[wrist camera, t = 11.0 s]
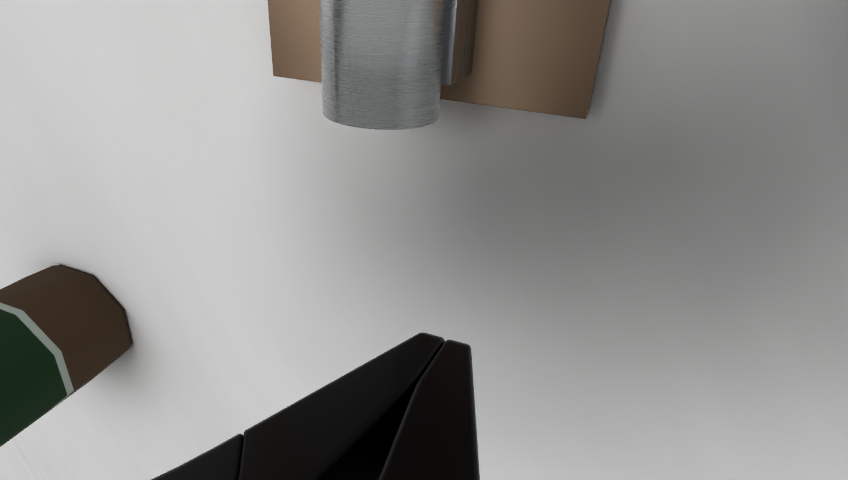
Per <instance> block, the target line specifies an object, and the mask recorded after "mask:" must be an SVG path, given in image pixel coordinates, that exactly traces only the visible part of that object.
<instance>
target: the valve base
mask: <svg viewBox="0 0 848 480" xmlns="http://www.w3.org/2000/svg"><path fill="white" fill-rule="evenodd" d="M610 4H611V0H268V10H269V23H270V36H271V49H272V62H273V75H274V76H278V77H285V78H293V79H300V80H307V81H314V82H322V98H323V114H324V116H325V117H326V118H328V119H329V120H331V121H334V122H336V123H340V124H343V125H348V126H353V127H359V128H367V129H384V130H395V129H410V128H417V127H422V126H426V125H430V124H432V123H434V122H436V121H437V120H438V118H439V107H440V99H445V100H452V101H460V102H467V103H474V104H481V105H489V106H496V107H503V108H510V109H518V110H525V111H532V112H540V113H547V114H554V115H561V116H569V117H576V118H583V119H586V117H587V114H588V111H589V108H590V103H591V98H592V93H593V88H594V83H595V78H596V73H597V68H598V63H599V59H600V54H601V49H602V44H603V39H604V34H605V29H606V24H607V19H608V14H609V9H610Z"/></svg>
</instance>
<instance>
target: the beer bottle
mask: <svg viewBox="0 0 848 480" xmlns="http://www.w3.org/2000/svg"><path fill="white" fill-rule="evenodd" d="M131 344H132V341H131V337H130V333H129V329H128V324H127V320H126V316H125V312H124V309H123V308H122V306H121V305H120V304H119V303H118V302H117V301H116V300H115V299H114V298H113V297H112V295H111V294H110V293H109V292H108V291H107V290H106V289H105V288H104V287H103V286H102V284H101V283H100V282H99V281H98V280H97V279H96V278H95V277H94V276H93V275H90V274H87V273H84V272H80V271H77V270H74V269H71V268H68V267H65V266H61V265H55V266H51V267H49V268H46V269H44V270H42V271H39V272H37V273H35V274H32V275H30V276H27V277H25V278H23V279H21V280H19V281H17V282H15V283H13V284H11V285H9V286H7V287H5V288H3V289H0V447H1V446H2V445H3V444H5V443H6V442H7V441H9V440H10V439H12V438H13V437H14V436H16V435H17V434H18V433H20V432H21V431H22V430H24V429H25V428H27V427H28V426H29V425H31V424H32V423H33V422H35V421H36V420H37V419H39V418H40V417H42V416H43V415H44V414H46V413H47V412H48V411H50V410H51V409H52V408H54V407H55V406H57V405H58V404H59V403H61V402H62V401H63V400H65V399H66V398H67V397H69V396H70V395H72V394H73V393H74V392H76V391H77V390H78V389H80V388H81V387H82V386H84V385H85V384H86V383H88V382H89V381H90V380H92V379H93V378H94V377H95V376H97V375H98V374H99V373H100V372H102V371H103V370H104V369H105V368H106V367H108V366H109V365H110V364H111V363H113V362H114V361H115V360H116V359H117V358H118V357H120V356H121V355H122V354H123V353H124V352H125V351H127V350H128V349H129V348H130V346H131Z"/></svg>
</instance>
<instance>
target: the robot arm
mask: <svg viewBox="0 0 848 480" xmlns="http://www.w3.org/2000/svg"><path fill="white" fill-rule="evenodd" d="M152 480H480V475H479V460H478V445H477V430H476V415H475V400H474V385H473V370H472V356H471V347H470V346H469V345H468V344H464V343H461V342H457V341H453V340H446V341H445V340H444V339H443V338H442V337H439V336H435V335H431V334H428V333H419V334H417V335H415V336H413V337H412V338H410V339H408V340H406V341H404V342H403V343H401V344H399V345H397V346H396V347H394V348H392V349H390V350H388V351H387V352H385V353H383V354H381V355H379V356H378V357H376V358H374V359H372V360H370V361H369V362H367V363H365V364H363V365H362V366H360V367H358V368H356V369H354V370H353V371H351V372H349V373H347V374H345V375H344V376H342V377H340V378H338V379H337V380H335V381H333V382H331V383H329V384H328V385H326V386H324V387H322V388H320V389H319V390H317V391H315V392H313V393H311V394H310V395H308V396H306V397H304V398H303V399H301V400H299V401H297V402H295V403H294V404H292V405H290V406H288V407H286V408H285V409H283V410H281V411H279V412H278V413H276V414H274V415H272V416H270V417H269V418H267V419H265V420H263V421H261V422H260V423H258V424H256V425H254V426H252V427H251V428H249V429H247V430H245V432H244V436H243V435H242V434H238V435H236V436H234V437H232V438H231V439H229V440H227V441H225V442H223V443H222V444H220V445H218V446H216V447H214V448H213V449H211V450H209V451H207V452H205V453H203V454H201V455H199V456H197V457H196V458H194V459H192V460H190V461H188V462H186V463H184V464H182V465H180V466H179V467H177V468H174V469H172V470H170V471H168V472H166V473H164V474H162V475H160V476H158V477H156V478H154V479H152Z"/></svg>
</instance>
